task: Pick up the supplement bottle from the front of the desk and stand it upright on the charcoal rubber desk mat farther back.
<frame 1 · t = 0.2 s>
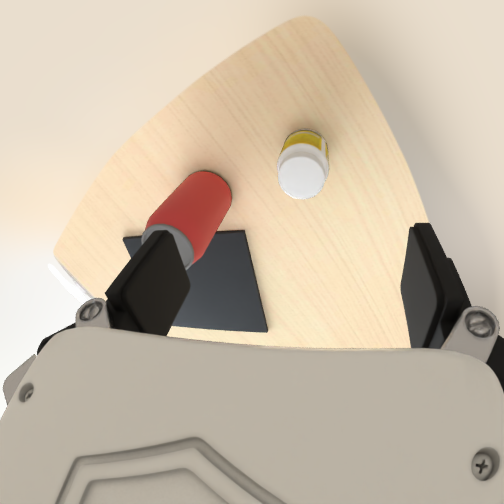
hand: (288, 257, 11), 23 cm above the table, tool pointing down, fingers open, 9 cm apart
mat: (197, 286, 48), on the table
supplement bottle: (306, 148, 31), on the table
beer can: (208, 192, 37), on the table
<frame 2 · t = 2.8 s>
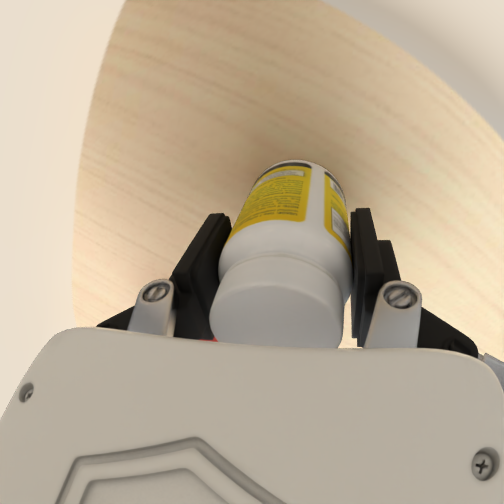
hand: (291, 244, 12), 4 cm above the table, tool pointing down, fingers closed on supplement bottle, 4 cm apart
supplement bottle: (299, 200, 15), on the table, touching gripper
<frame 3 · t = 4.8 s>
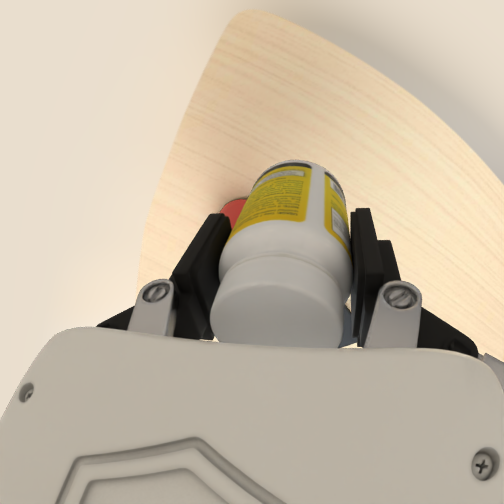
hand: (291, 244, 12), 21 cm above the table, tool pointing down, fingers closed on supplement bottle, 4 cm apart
mat: (279, 318, 45), on the table
supplement bottle: (299, 200, 15), point 17 cm above the table, touching gripper
beer can: (246, 220, 36), on the table
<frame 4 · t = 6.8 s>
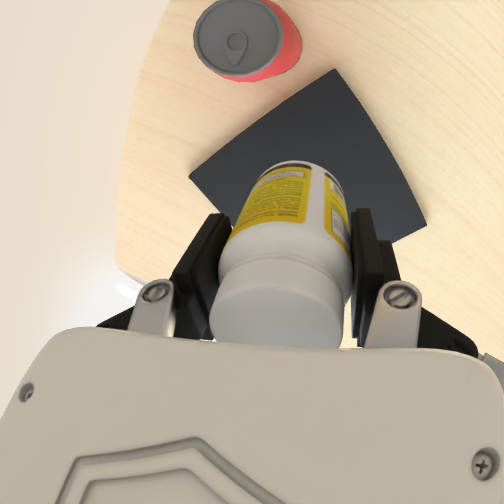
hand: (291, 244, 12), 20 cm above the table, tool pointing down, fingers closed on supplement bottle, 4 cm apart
mat: (311, 195, 32), on the table
supplement bottle: (299, 200, 15), point 16 cm above the table, touching gripper
beer can: (268, 45, 24), on the table
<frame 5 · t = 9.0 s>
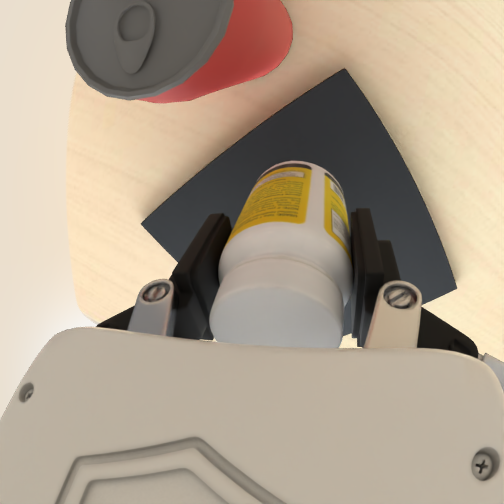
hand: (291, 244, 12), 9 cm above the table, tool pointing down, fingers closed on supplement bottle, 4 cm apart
mat: (306, 252, 24), on the table
supplement bottle: (299, 201, 15), point 5 cm above the table, touching gripper
beer can: (241, 34, 15), on the table
when the fingers open (4 cm above the table, at t = 10.6 s): supplement bottle stays where it is, resting on mat.
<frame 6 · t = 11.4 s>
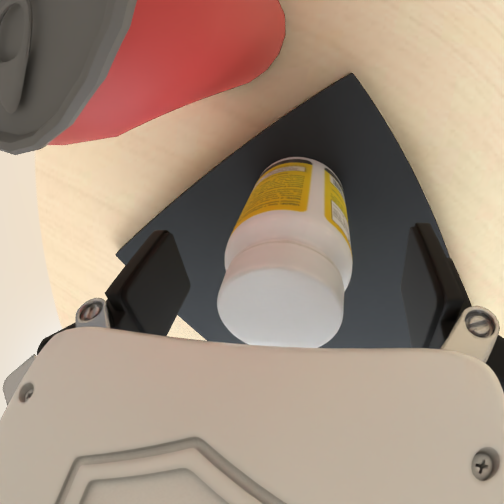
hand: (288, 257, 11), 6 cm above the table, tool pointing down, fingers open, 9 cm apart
mat: (301, 291, 20), on the table
supplement bottle: (300, 195, 16), resting on mat
beer can: (221, 30, 12), on the table
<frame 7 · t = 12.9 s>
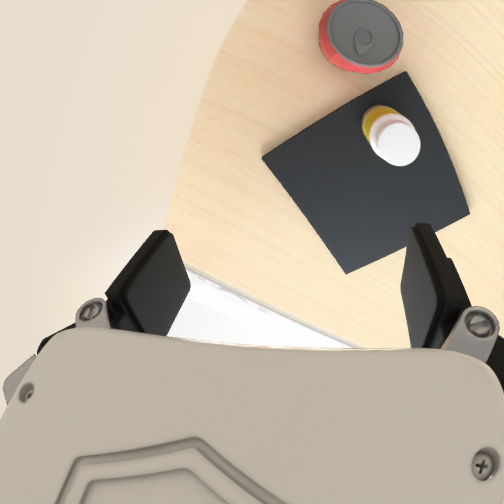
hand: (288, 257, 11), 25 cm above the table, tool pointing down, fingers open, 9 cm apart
mat: (376, 182, 33), on the table
supplement bottle: (381, 124, 29), resting on mat
beer can: (349, 43, 25), on the table
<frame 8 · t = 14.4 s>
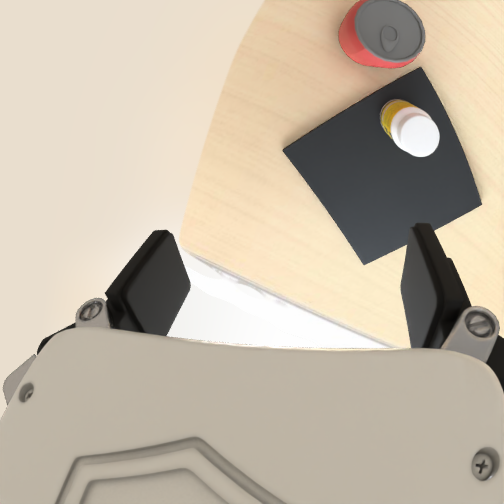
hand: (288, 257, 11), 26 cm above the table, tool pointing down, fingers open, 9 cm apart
mat: (394, 174, 33), on the table
supplement bottle: (398, 118, 29), resting on mat
beer can: (367, 39, 25), on the table
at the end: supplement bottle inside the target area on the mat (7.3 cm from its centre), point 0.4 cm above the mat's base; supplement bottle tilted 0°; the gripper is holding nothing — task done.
